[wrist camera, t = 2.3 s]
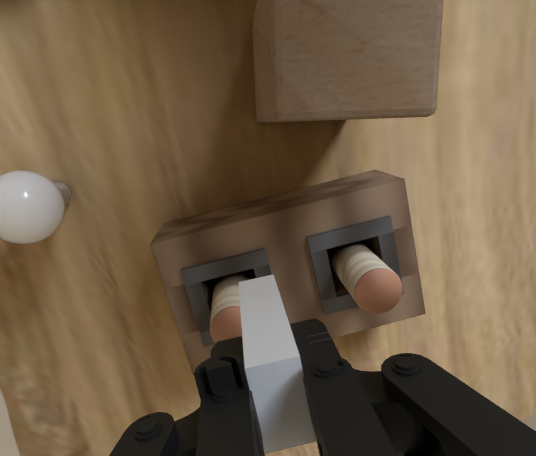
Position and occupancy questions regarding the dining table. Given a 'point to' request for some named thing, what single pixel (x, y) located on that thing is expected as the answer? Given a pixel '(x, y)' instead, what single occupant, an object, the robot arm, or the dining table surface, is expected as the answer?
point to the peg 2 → (366, 277)
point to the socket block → (291, 254)
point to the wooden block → (346, 59)
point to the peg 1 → (226, 307)
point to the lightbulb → (30, 206)
